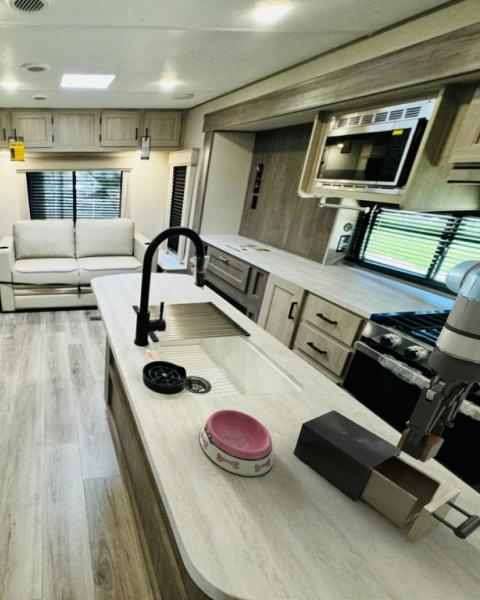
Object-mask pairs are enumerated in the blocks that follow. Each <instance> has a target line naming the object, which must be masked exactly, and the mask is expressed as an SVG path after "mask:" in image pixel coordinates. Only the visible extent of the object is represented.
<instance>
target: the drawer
mask: <svg viewBox="0 0 480 600" xmlns="http://www.w3.org/2000/svg"><path fill="white" fill-rule="evenodd" d="M442 483H443V481H440V480H439V479H437V478H436V477H434V476H432V475H431V474H429V473H427V472H425V471H424V470H422V469H421V468H419V467H417V466H416V465H414V464H412V463H411V462H409V461H407V460H406V459H404V458H403V457H401V456H397V455H396V456H394V457H392V458H390V459H389V460H387V461H385V462H383V463H382V464H380V465H378V466H376V467H375V468H373V469H371V470H370V472H369V474H368V477H367V479H366V481H365V483H364V486H363V488H362V490H361V492H360V495H359V496H360V497H361V499H363V500H364V501H365V502H366V503H368V504H369V506H372V507H373V508H374V509H375V510H377V511H378V512H379V513H381V514H382V515H383V516H384V517H386V518H387V519H388V520H390V521H391V522H393V523H394V524H396V525H397V526H398V527H399V528H404V527H405V526H406V525H408V524H409V523H410V522H411V521H413V520H414V519H415V521H414V522H413V524H412V526H411V527H410V529H409V532H408V533H407V535H406V537H407V538H408V539H409V540H411V541H412V542H413V543H416V542H417V541H418V540H419V539H421V538H422V537H424V536H425V535H426V534H427V533H429V532H430V531H431V530H433V529H434V528H435V527H436V526H438V525H440V523H441V524H442V525H444V526H446V527H447V528H448V529H450V530H451V531H452V533H453V535H455V536H456V537H457V539H461V540H466V539H467V538H468V537H469V536H470V535H472V534H473V533H474V532H475V531H477V530H478V529H479V528H480V516H479V515H477V514H471V513H469V512H468V511H466V510H465V509H463V508H461V507H459V506H458V505H457V504H455V502H456V501H457V500H458V497H459V495H460V494H461V492H462V490H461V489H459V488H457V487H456V486H454V485H452V486H451V487H449V488H448V489H446V490H445V491H443V493H441V494H440V495H438V496H437V497H435V496H436V494H437V492H439V491H438V490H439V489H440V487H441V486H442ZM434 497H435V498H434ZM452 508H453V509H454V510H456V511H457V512H459V513H460V514H462V515H463V516H465V517H467V518H466V519H465V520H464V521H462V522H461V523H460V524H459V525H457V526H455V525H453V524H451V523H450V522H449V521H447V520H446V517H447V516H448V514H449V513H450V510H451V509H452Z"/></svg>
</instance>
